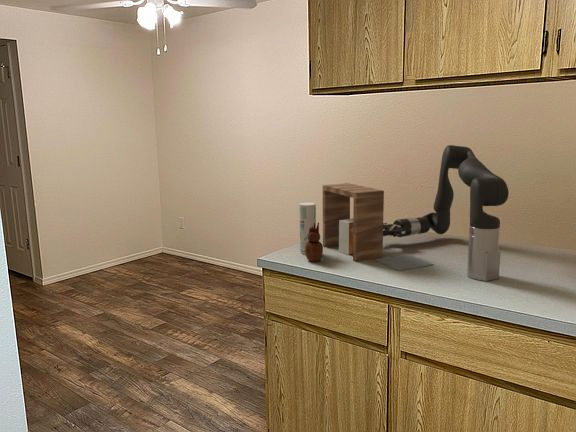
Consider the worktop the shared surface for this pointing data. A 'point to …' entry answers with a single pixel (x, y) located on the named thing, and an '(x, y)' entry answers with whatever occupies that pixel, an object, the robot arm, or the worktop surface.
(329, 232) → the arch
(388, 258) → the mat
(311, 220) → the spray can
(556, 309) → the worktop surface
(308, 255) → the wooden figurine
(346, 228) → the small box
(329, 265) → the worktop surface
